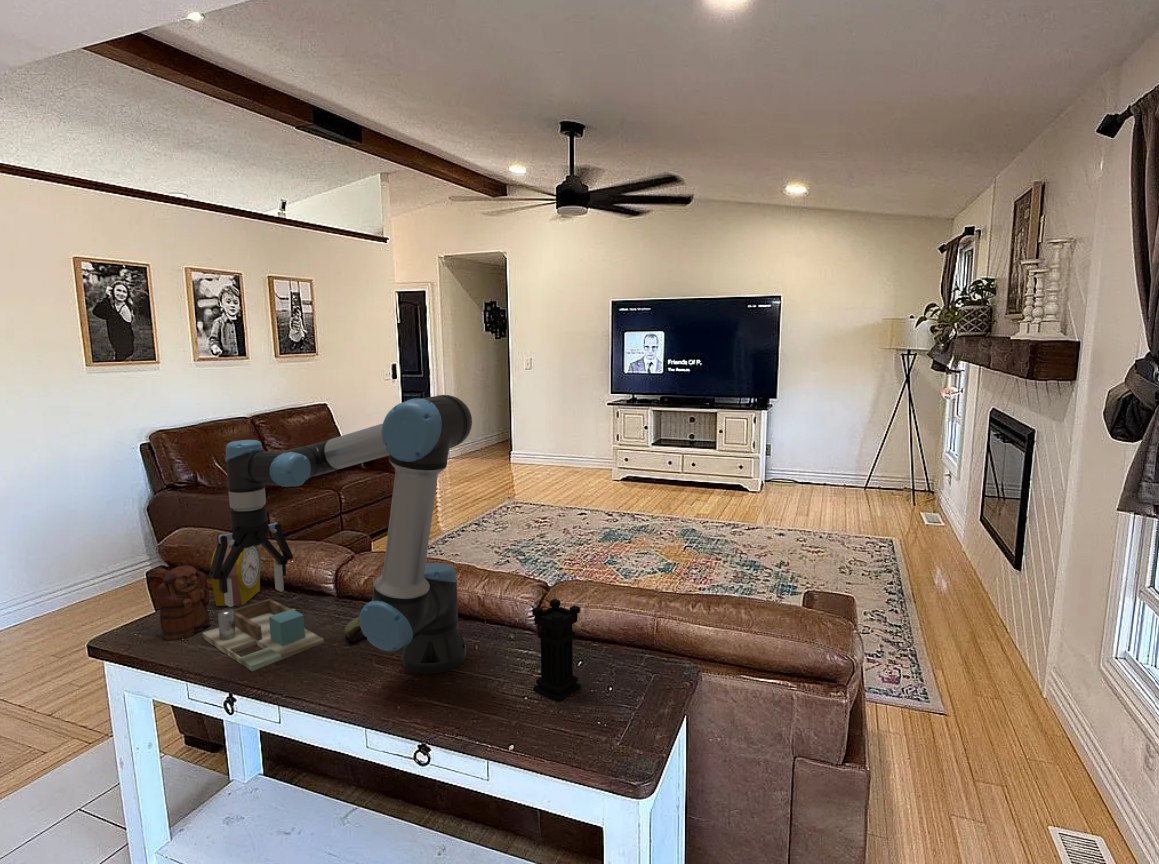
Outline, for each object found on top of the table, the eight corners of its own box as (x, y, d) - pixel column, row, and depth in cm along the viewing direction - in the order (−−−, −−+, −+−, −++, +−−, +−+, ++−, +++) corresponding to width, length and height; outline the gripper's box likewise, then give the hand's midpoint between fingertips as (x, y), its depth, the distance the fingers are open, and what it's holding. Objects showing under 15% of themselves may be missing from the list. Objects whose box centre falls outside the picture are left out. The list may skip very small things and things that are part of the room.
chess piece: (555, 682, 148) (554, 597, 145) (583, 694, 143) (582, 606, 140) (530, 697, 142) (529, 609, 139) (558, 710, 137) (557, 619, 134)
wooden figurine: (177, 643, 168) (170, 575, 166) (159, 639, 170) (152, 572, 168) (216, 624, 179) (211, 560, 176) (199, 621, 181) (193, 558, 179)
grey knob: (238, 636, 168) (235, 610, 167) (223, 641, 165) (220, 615, 164) (231, 632, 170) (229, 607, 169) (217, 637, 168) (214, 611, 167)
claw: (374, 646, 165) (375, 633, 165) (334, 643, 166) (334, 630, 165) (398, 613, 185) (398, 602, 184) (362, 611, 185) (362, 599, 185)
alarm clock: (242, 607, 190) (237, 546, 187) (213, 608, 190) (207, 547, 187) (264, 588, 205) (260, 531, 202) (237, 588, 204) (232, 531, 202)
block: (305, 637, 167) (303, 615, 167) (282, 646, 163) (280, 623, 162) (293, 630, 171) (292, 609, 170) (270, 639, 167) (268, 616, 166)
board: (324, 644, 167) (323, 638, 167) (252, 672, 153) (251, 666, 153) (271, 615, 185) (271, 610, 184) (202, 638, 171) (202, 632, 171)
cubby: (299, 625, 174) (299, 613, 174) (258, 640, 166) (257, 627, 165) (271, 610, 184) (270, 598, 184) (230, 623, 176) (229, 611, 175)
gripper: (289, 495, 164) (295, 579, 167) (186, 514, 146) (195, 608, 149) (304, 499, 159) (310, 586, 162) (200, 520, 141) (208, 617, 144)
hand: (255, 597), depth 156 cm, fingers open, 11 cm apart
